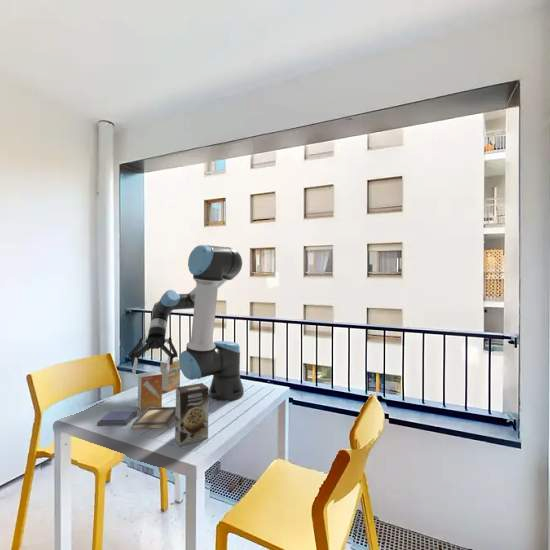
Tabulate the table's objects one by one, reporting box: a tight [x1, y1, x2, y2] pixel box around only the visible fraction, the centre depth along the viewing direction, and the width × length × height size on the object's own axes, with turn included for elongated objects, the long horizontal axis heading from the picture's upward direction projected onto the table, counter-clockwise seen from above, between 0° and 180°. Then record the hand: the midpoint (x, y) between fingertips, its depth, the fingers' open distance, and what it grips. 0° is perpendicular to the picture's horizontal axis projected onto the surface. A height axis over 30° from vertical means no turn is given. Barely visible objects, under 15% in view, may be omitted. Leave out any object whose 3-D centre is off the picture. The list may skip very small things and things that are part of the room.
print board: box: [131, 406, 176, 429], centre depth 114 cm, size 12×14×2 cm
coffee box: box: [174, 382, 210, 446], centre depth 101 cm, size 9×6×16 cm
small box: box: [137, 369, 163, 411], centre depth 126 cm, size 8×6×13 cm
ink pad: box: [96, 410, 138, 426], centre depth 114 cm, size 10×9×2 cm
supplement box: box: [159, 358, 181, 393], centre depth 146 cm, size 8×5×13 cm, turn 154°
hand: (150, 372), depth 133 cm, fingers open, 13 cm apart
